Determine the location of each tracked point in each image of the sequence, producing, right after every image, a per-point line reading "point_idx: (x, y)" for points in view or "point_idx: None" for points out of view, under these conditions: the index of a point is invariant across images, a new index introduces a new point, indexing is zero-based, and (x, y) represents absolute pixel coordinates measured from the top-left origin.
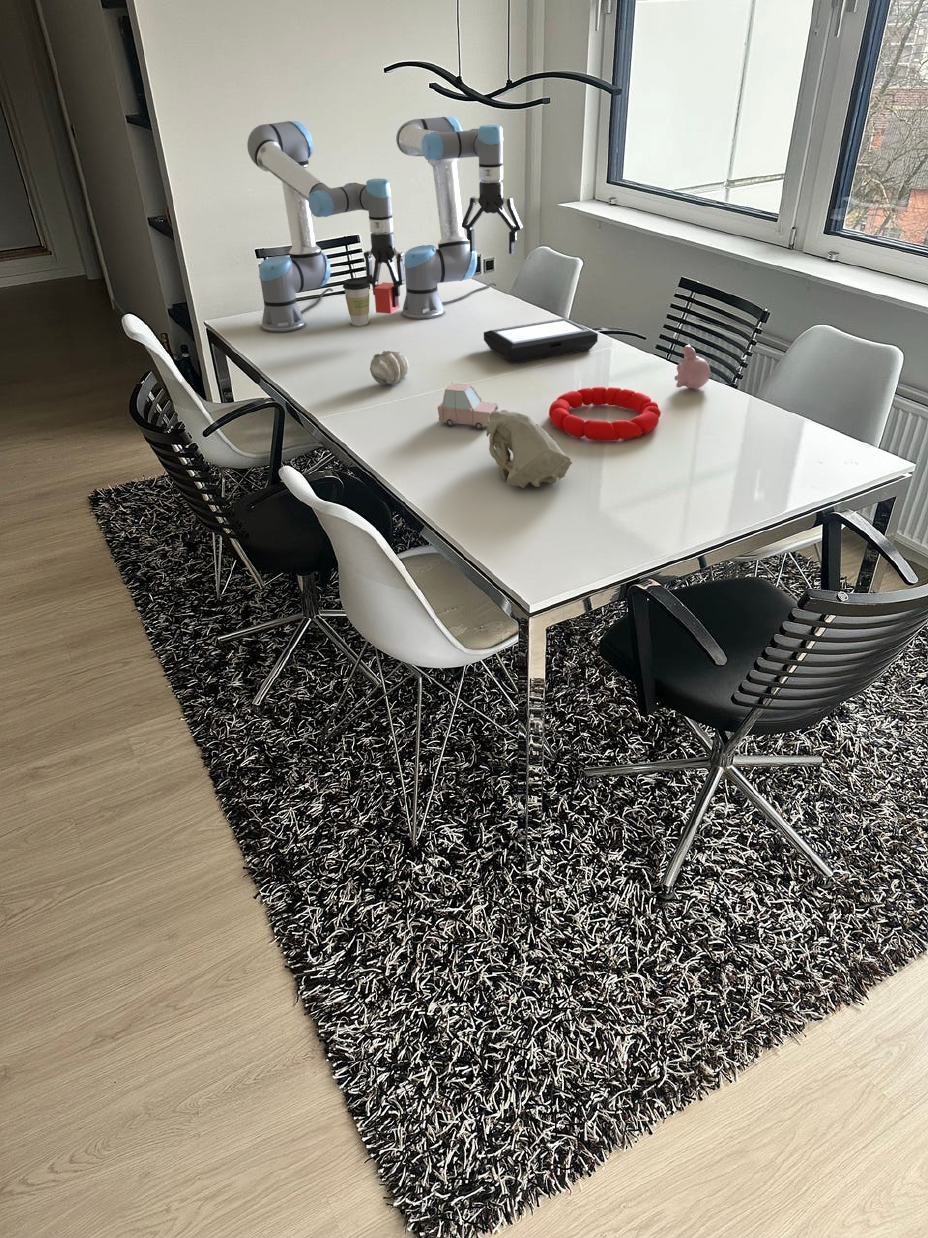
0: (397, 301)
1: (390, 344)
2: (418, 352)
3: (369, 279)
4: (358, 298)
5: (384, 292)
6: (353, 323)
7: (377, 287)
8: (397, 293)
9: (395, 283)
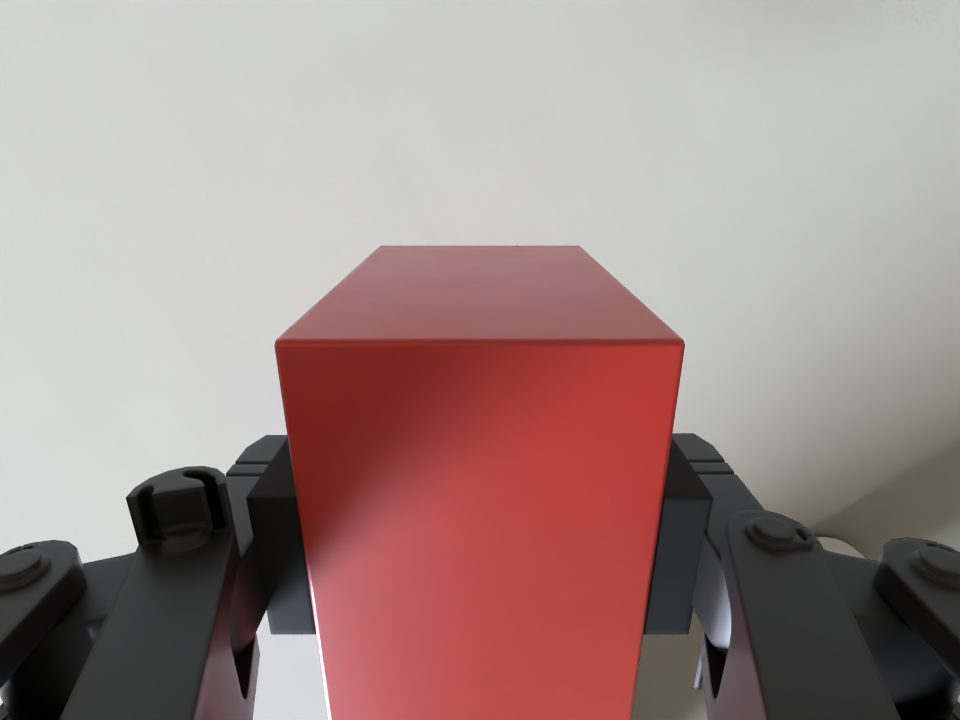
0: None
1: (458, 239)
2: (166, 108)
3: (944, 607)
4: None
5: (414, 312)
6: (847, 545)
7: (614, 404)
8: (255, 458)
9: (166, 560)
